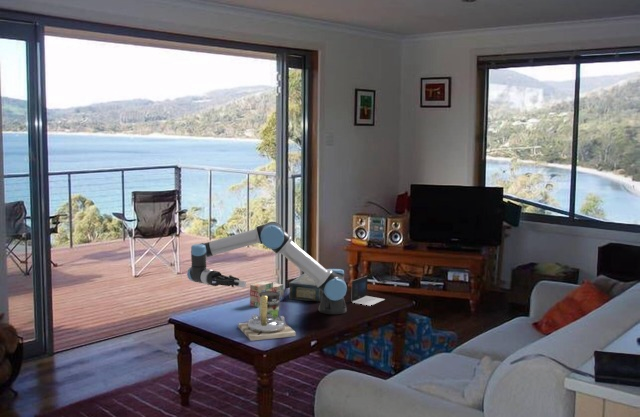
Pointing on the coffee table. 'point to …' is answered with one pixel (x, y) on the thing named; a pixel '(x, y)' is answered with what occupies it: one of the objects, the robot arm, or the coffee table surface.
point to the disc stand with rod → (266, 320)
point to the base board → (261, 336)
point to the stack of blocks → (263, 287)
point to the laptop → (362, 293)
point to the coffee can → (271, 302)
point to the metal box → (305, 289)
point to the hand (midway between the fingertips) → (244, 284)
